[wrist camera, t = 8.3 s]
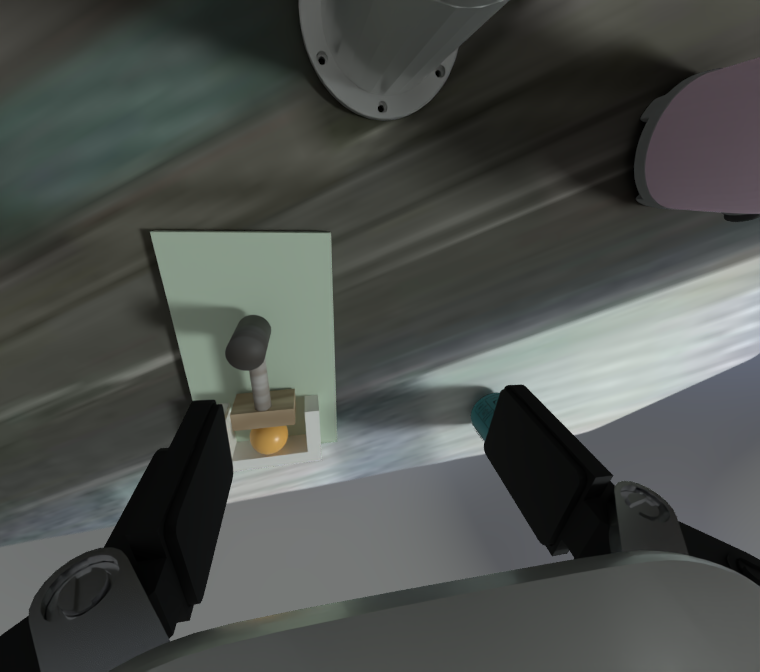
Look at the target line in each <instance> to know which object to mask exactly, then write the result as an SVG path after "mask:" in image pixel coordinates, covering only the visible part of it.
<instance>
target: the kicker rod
mask: <svg viewBox="0 0 760 672" xmlns="http://www.w3.org/2000/svg"><path fill="white" fill-rule="evenodd" d="M270 335H271V326H270V324H269V322H268V321H267V320H266V319H265V318H263V317H261V316H258V315H248V316H245V317H243V318H242V319H241V320H240V321H239V323H238V325H237V327H236V329H235V331H234V333H233V335H232V337H231V339H230V341H229V343H228V345H227V347H226V350H225V356H226V359H227V361H228V362H229V364H230V365H231V366H233V367H234V368H236V369H239V370H243V371H249V374H250V380H251V387H252V393H241V394H236V397H235V400H234V403H233V406H232V409H231V412H230V419H231V424H232V429H233V431H240V430H249V429H259V428H268V427H277V426H286V425H295V416H296V398H295V389H287V390H275V391H270V389H269V382H268V374H267V366H266V359H265V356H266V352H267V348H268V343H269V339H270Z"/></svg>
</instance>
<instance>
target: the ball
mask: <svg viewBox="0 0 760 672" xmlns="http://www.w3.org/2000/svg"><path fill="white" fill-rule="evenodd" d="M287 439H288V429H287V426H277V427H268V428H259V429H251V432H250V443H251V445H252V447H253V448H254V449H255V450H256V451H257V452H259V453H261V454H265V455H269V454H273V453H276V452H278V451H279V450H281V449H282V448H283V447H284V445H285V444H286V442H287Z"/></svg>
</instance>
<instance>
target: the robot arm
mask: <svg viewBox="0 0 760 672" xmlns="http://www.w3.org/2000/svg"><path fill="white" fill-rule="evenodd" d="M508 1H509V0H299V18H300V27H301V32H302V37H303V42H304V46H305V48H306V51H307V54H308V57H309V60H310V62H311V64H312V66H313V68H314V70H315V72H316V74H317V76H318V78H319V79H320V81H321V82H322V84H323V85H324V86H325V88H326V89H327V90H328V91H329V93H330V94H331V95H332V96H333V97H334V98H335V99H336V100H337V101H338V102H339V103H340V104H342V105H343V106H344V107H346V108H347V109H349V110H350V111H352V112H354V113H355V114H357V115H360V116H363V117H365V118H368V119H373V120H381V121H387V120H397V119H400V118H403V117H406V116H409V115H411V114H412V113H414V112H416V111H418V110H419V109H421V108H422V107H423V106H424V105H426V104H427V103H428V102H430V101H431V100H432V98H433V97H434V96H435V95H436V94H437V93H438V92H439V91H440V89H441V88H442V86H443V85H444V83H445V82H446V80H447V78H448V77H449V75H450V72H451V70H452V67H453V65H454V62H455V60H456V57H457V53H458V49H459V46H460V45H461V44H462V43H464V42H465V41H466V40H467V39H468V38H469V37H470V36H471V35H472V34H473V33H474V32H476V31H477V30H478V29H479V28H480V27H481V26H482V25H483V24H484V23H485V22H486V21H488V20H489V19H490V18H491V17H492V16H493V15H494V14H495V13H496V12H497V11H498V10H499V9H501V8H502V7H503V6H504V5H505V4H506V3H507V2H508ZM320 58H322V59H324V61H325V64H324V65H320V63H319V61H318V60H319V59H320ZM435 71H437V72H438V73H439V78H438V77H437V76H436V74H435ZM378 106H381V107H382V108H383V112H379V111H378ZM484 451H485V454H486V455H487V457H488V459H489V460H490V462H491V464H492V465H493V467H494V469H495V470H496V472H497V473H498V475H499V477H500V478H501V480H502V482H503V483H504V485H505V486H506V488H507V490H508V491H509V493H510V494H511V496H512V498H513V499H514V501H515V503H516V504H517V506H518V508H519V509H520V511H521V513H522V514H523V516H524V517H525V519H526V521H527V522H528V524H529V526H530V527H531V529H532V530H533V532H534V534H535V535H536V537H537V539H538V540H539V541H540V543H541V544H543V545H545V546H546V547H547V549H548V550H549V552H550V554H551V555H552V556H556V555H561V554H567V553H568V552H569V550H570V552H571V553H572V555H573V556H574V559H573V560H567V561H562V562H556V563H551V564H545V565H539V566H533V567H528V568H522V569H516V570H511V571H506V572H499V573H494V574H488V575H483V576H477V577H472V578H466V579H461V580H455V581H450V582H444V583H439V584H433V585H428V586H422V587H417V588H411V589H406V590H401V591H395V592H390V593H385V594H380V595H374V596H369V597H363V598H358V599H353V600H347V601H343V602H337V603H331V604H326V605H321V606H316V607H310V608H305V609H300V610H295V611H291V612H285V613H281V614H275V615H271V616H266V617H261V618H256V619H252V620H247V621H242V622H237V623H233V624H228V625H225V626H220V627H217V628H213V629H209V630H205V631H201V632H197V633H193V634H191V635H188V636H185V637H182V638H179V639H177V640H173V641H171V642H170V640H169V638H170V637H171V636H172V635H173V634H174V630H175V627H176V623H178V622H184V621H189V620H190V617H191V613H192V610H193V606H194V604H199V603H201V601H202V599H203V596H204V591H205V588H206V584H207V580H208V576H209V572H210V567H211V564H212V560H213V555H214V551H215V547H216V543H217V539H218V535H219V531H220V527H221V523H222V519H223V514H224V511H225V507H226V503H227V499H228V495H229V491H230V487H231V483H232V478H233V462H232V457H231V451H230V445H229V439H228V433H227V427H226V421H225V415H224V409H223V405H222V404H216V401H215V400H214V399H213V400H194V401H193V402H192V403H191V405H190V407H189V409H188V411H187V413H186V415H185V417H184V419H183V421H182V423H181V425H180V427H179V429H178V431H177V433H176V435H175V437H174V439H173V441H172V443H171V445H170V447H169V448H161V449H159V450H157V451H156V453H155V454H154V456H153V458H152V459H151V461H150V463H149V465H148V467H147V469H146V470H145V472H144V474H143V476H142V478H141V480H140V482H139V483H138V485H137V487H136V489H135V491H134V493H133V495H132V496H131V498H130V500H129V502H128V504H127V506H126V507H125V509H124V511H123V513H122V515H121V517H120V519H119V520H118V522H117V524H116V526H115V528H114V530H113V532H112V534H111V535H110V537H109V539H108V541H107V543H106V544H105V546H104V548H98V549H94V550H91V551H88V552H85V553H83V554H81V555H79V556H77V557H75V558H74V559H72V560H70V561H69V562H67V563H66V564H65V565H63V566H62V567H60V568H59V569H58V570H56V571H55V572H54V573H53V574H52V575H51V576H50V577H49V578H48V579H47V580H46V581H45V582H44V584H43V585H42V586H41V588H40V589H39V591H38V592H37V593H36V595H35V596H34V599H33V601H32V603H31V606H30V608H29V616H27V617H26V618H25V619H23V620H22V621H21V622H20V623H18V624H16V625H15V626H14V627H12V628H11V629H9V630H8V631H7V632H5V633H4V634H2V635H1V636H0V672H760V560H759V559H757V558H755V557H754V556H752V555H750V554H748V553H746V552H744V551H742V550H740V549H738V548H735V547H733V546H731V545H729V544H727V543H725V542H722V541H720V540H718V539H716V538H714V537H712V536H709V535H707V534H705V533H703V532H701V531H699V530H696V529H694V528H692V527H690V526H688V525H686V524H683V523H681V522H679V521H678V519H677V516H676V514H675V512H674V510H673V508H672V507H671V506H670V505H669V504H668V502H667V501H666V500H664V499H663V498H662V497H661V496H660V495H658V494H657V493H656V492H654V491H652V490H651V489H649V488H647V487H645V486H643V485H641V484H638V483H635V482H631V481H621V482H618V483H617V484H616V485H615V486H614V485H613V483H612V482H611V481H610V480H611V478H612V477H613V475H612V474H611V473H610V472H609V471H608V470H607V469H606V468H605V467H604V466H603V465H602V464H601V463H600V462H599V461H598V460H597V459H596V458H595V457H594V456H593V454H591V453H590V451H589V450H588V449H587V448H586V447H585V446H584V445H583V444H582V443H581V442H580V441H579V440H578V439H577V438H576V437H575V436H574V435H573V434H572V433H571V432H570V431H569V430H568V429H567V428H566V427H565V426H564V425H563V424H562V423H561V422H560V421H559V420H558V419H557V418H556V417H555V416H554V415H553V414H552V413H551V412H550V411H549V410H548V409H547V408H546V407H545V406H544V405H543V404H542V403H541V402H540V401H539V400H538V399H537V398H536V397H535V396H534V395H533V394H532V393H531V392H530V391H529V390H528V388H527V387H525V386H524V385H508V386H506V387H505V388H504V390H502V391H501V392H500V395H499V398H498V401H497V404H496V407H495V411H494V414H493V417H492V420H491V423H490V427H489V430H488V433H487V436H486V440H485V443H484Z"/></svg>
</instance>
